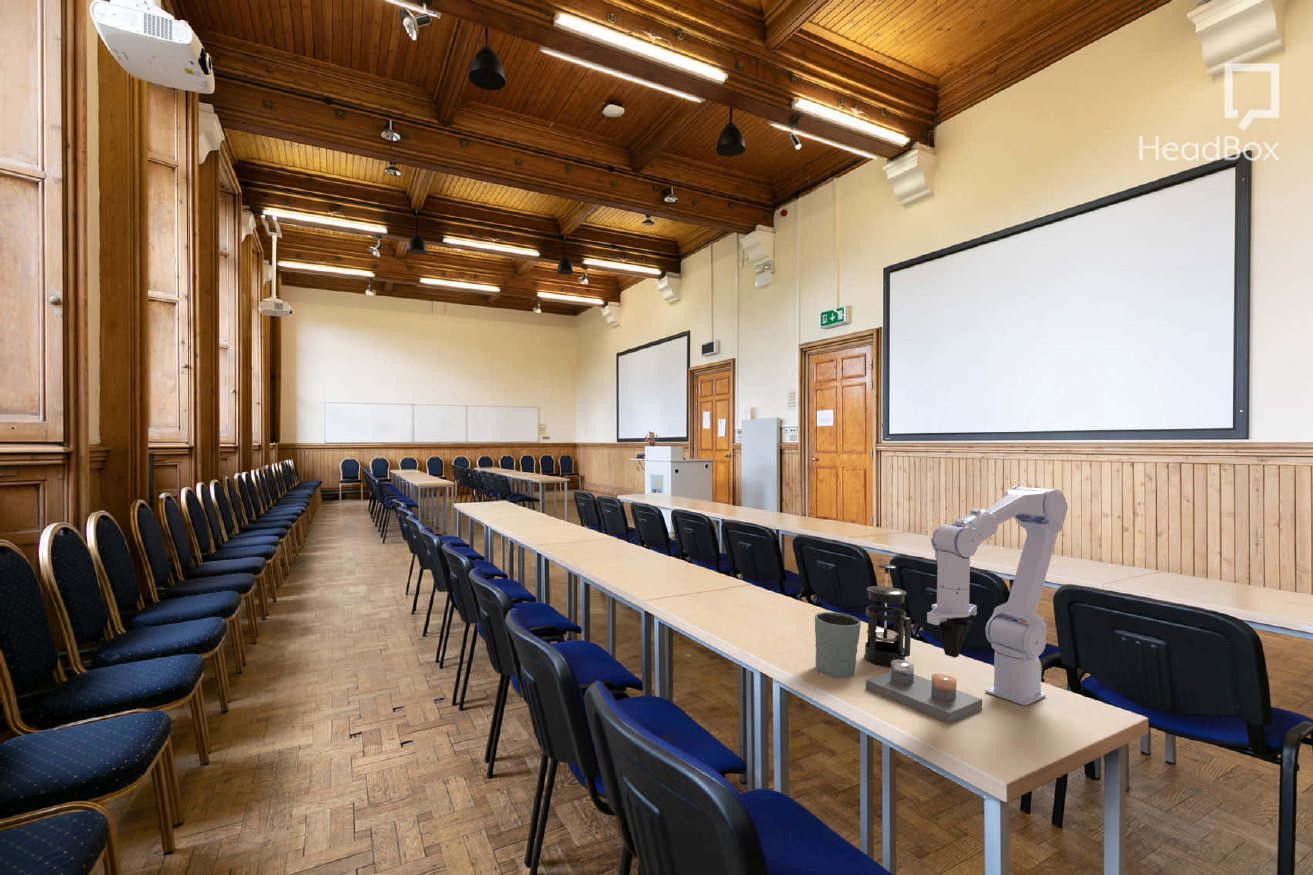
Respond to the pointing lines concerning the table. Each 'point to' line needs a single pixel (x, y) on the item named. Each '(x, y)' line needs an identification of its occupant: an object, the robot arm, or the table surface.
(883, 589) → the french press
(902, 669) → the steel plunger
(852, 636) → the grey green cup
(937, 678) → the peach knob
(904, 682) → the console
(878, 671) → the table surface
